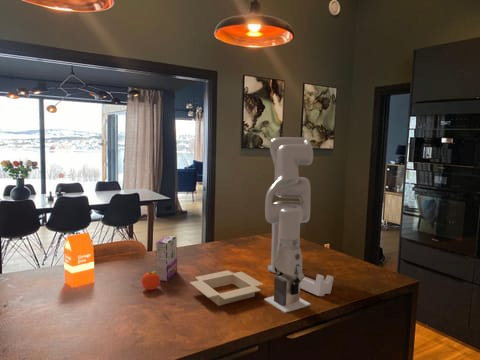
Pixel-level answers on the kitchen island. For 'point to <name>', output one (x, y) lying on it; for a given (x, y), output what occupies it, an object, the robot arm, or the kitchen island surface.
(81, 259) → the orange juice
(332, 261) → the kitchen island surface
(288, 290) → the birch box
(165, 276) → the candy bar box
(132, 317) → the kitchen island surface
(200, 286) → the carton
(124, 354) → the kitchen island surface
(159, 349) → the kitchen island surface
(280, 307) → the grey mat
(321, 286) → the bracket
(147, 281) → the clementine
